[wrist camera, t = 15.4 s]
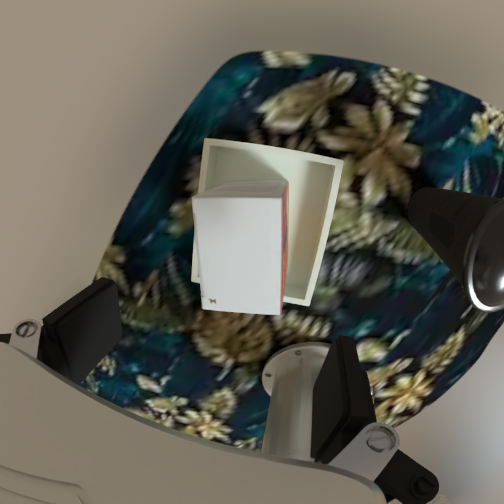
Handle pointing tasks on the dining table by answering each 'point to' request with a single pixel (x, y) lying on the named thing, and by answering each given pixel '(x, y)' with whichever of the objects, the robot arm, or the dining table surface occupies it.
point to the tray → (300, 200)
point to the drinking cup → (465, 239)
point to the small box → (243, 245)
